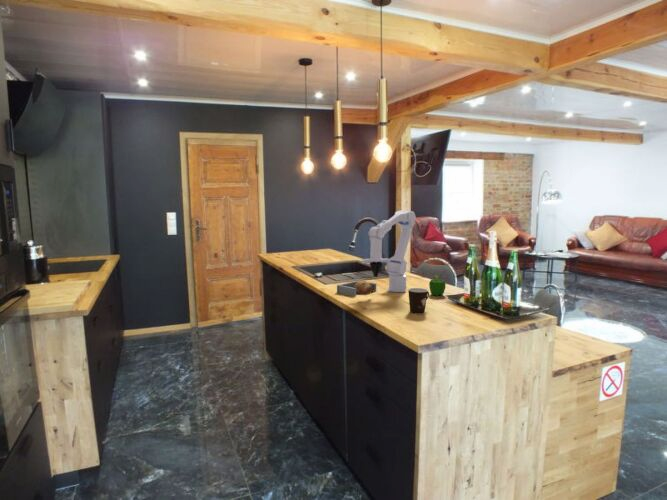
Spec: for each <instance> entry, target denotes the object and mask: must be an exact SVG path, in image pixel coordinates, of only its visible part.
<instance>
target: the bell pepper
mask: <svg viewBox="0 0 667 500" xmlns="http://www.w3.org/2000/svg"><path fill="white" fill-rule="evenodd" d="M434 277H435V278H436V279H433V278H432V279H430V280H429V284H428V285H429V287H428V288H429V291H430V294H431V296H434V295H435V297H436V296H437V297H439V295H441V296H443V295H444V294H445V291H446V282H445V280H444V279H439V277H438V275H434Z"/></svg>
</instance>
